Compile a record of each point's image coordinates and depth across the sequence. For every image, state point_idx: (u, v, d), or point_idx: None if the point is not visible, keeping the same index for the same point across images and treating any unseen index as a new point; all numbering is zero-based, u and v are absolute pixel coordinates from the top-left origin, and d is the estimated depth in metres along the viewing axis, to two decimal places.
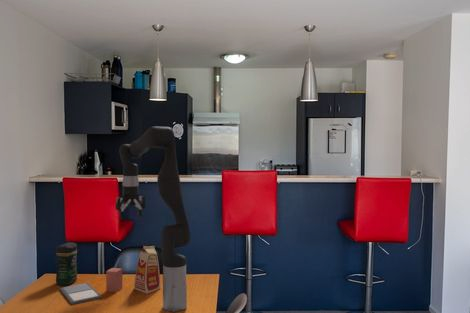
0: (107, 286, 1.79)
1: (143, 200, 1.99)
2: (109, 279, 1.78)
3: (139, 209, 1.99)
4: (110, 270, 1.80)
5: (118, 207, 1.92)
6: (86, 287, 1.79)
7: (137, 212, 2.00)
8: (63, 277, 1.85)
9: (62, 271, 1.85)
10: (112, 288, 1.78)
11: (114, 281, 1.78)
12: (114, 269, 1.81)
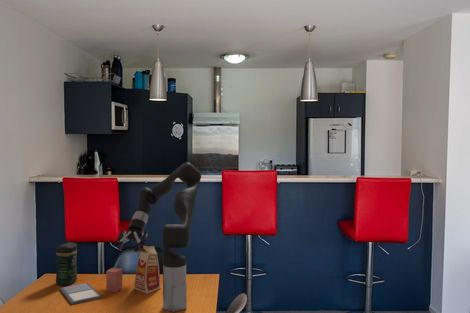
0: (107, 286, 1.79)
1: None
2: (109, 279, 1.78)
3: (122, 243, 1.96)
4: (110, 270, 1.80)
5: None
6: (86, 287, 1.79)
7: (121, 245, 1.94)
8: (63, 277, 1.85)
9: (62, 271, 1.85)
10: (112, 288, 1.78)
11: (114, 281, 1.78)
12: (114, 269, 1.81)
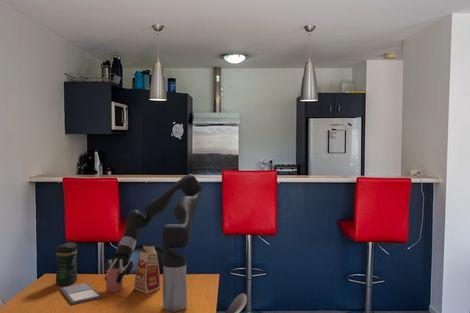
0: (107, 286, 1.79)
1: None
2: (109, 279, 1.78)
3: None
4: (110, 270, 1.80)
5: None
6: (86, 287, 1.79)
7: None
8: (63, 277, 1.85)
9: (62, 271, 1.85)
10: (112, 288, 1.78)
11: (114, 281, 1.78)
12: (114, 269, 1.81)
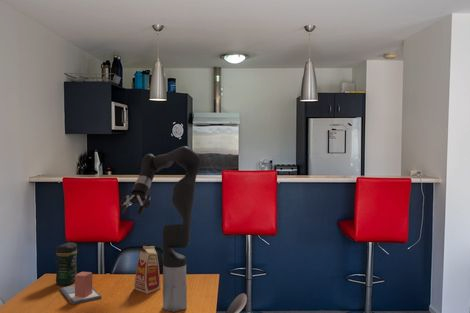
0: (76, 291, 1.69)
1: None
2: (77, 284, 1.69)
3: (126, 207, 1.95)
4: (79, 274, 1.70)
5: None
6: None
7: (124, 208, 1.93)
8: (63, 277, 1.85)
9: (62, 271, 1.85)
10: (80, 293, 1.68)
11: (83, 286, 1.68)
12: (83, 273, 1.71)
